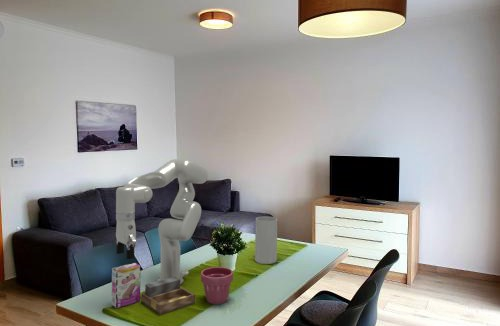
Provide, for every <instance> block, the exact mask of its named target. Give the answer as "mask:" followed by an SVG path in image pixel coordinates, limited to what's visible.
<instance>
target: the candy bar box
mask: <svg viewBox="0 0 500 326" xmlns="http://www.w3.org/2000/svg"><path fill="white" fill-rule="evenodd" d="M140 302H141V265H140V264H138V263H136V262H133V263H128V264H124V265H120V266H116V267H112V268H111V306H112V307H114V308H115V309H120V308H123V307H126V306H130V305H133V304H137V303H140Z"/></svg>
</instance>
